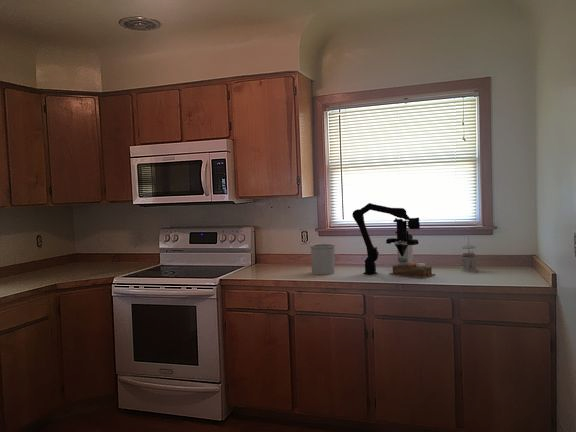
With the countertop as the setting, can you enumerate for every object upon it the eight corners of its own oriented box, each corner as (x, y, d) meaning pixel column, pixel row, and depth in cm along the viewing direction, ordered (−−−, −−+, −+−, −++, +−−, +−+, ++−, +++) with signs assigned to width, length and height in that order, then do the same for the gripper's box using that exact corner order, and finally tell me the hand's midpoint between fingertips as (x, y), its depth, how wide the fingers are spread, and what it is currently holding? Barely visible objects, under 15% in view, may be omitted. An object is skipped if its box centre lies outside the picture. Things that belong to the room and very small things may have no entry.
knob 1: (404, 268, 279) (403, 258, 279) (396, 267, 283) (396, 258, 283) (409, 266, 283) (408, 257, 283) (401, 265, 287) (401, 257, 286)
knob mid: (413, 273, 275) (413, 264, 275) (405, 272, 279) (405, 263, 279) (418, 272, 279) (418, 262, 278) (410, 271, 282) (410, 262, 282)
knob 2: (422, 274, 271) (422, 265, 270) (414, 273, 274) (414, 264, 274) (427, 273, 274) (427, 263, 274) (419, 272, 278) (419, 263, 278)
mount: (424, 278, 266) (423, 269, 266) (389, 274, 283) (388, 266, 283) (435, 275, 275) (435, 266, 274) (400, 271, 291) (400, 263, 291)
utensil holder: (340, 272, 297) (339, 243, 296) (325, 276, 286) (324, 246, 285) (321, 270, 307) (320, 242, 306) (306, 273, 296) (305, 245, 295)
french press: (475, 268, 290) (474, 227, 289) (481, 272, 279) (480, 228, 277) (458, 269, 291) (457, 227, 290) (463, 272, 280) (462, 229, 278)
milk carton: (408, 269, 298) (407, 238, 297) (397, 268, 302) (396, 238, 301) (413, 267, 303) (412, 237, 302) (402, 266, 308) (401, 237, 307)
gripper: (423, 229, 280) (423, 255, 281) (396, 227, 294) (396, 253, 295) (412, 230, 273) (413, 258, 274) (385, 229, 286) (385, 255, 287)
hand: (402, 256), depth 283 cm, fingers closed
